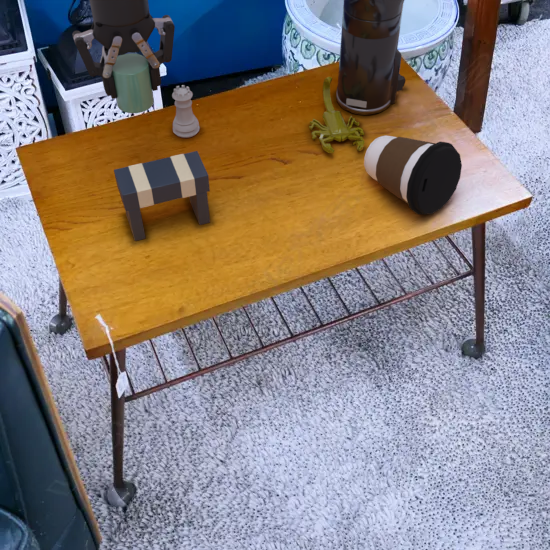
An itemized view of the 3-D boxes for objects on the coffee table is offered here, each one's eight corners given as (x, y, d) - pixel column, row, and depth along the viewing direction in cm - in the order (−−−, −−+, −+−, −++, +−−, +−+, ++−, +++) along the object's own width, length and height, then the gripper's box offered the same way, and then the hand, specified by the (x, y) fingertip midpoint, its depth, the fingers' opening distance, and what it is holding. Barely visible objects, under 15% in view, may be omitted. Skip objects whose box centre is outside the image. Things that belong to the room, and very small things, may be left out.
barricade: (202, 197, 113) (197, 150, 106) (212, 222, 110) (208, 175, 103) (123, 216, 110) (113, 169, 104) (132, 242, 107) (122, 195, 100)
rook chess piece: (168, 127, 124) (163, 86, 118) (193, 119, 126) (189, 78, 120) (179, 142, 122) (174, 101, 116) (204, 134, 123) (200, 93, 117)
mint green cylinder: (149, 88, 113) (143, 50, 108) (157, 109, 109) (152, 70, 105) (113, 95, 112) (106, 57, 107) (121, 116, 108) (114, 77, 103)
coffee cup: (347, 194, 113) (408, 223, 106) (359, 123, 108) (424, 149, 101) (393, 183, 120) (453, 210, 113) (407, 117, 115) (471, 140, 108)
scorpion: (318, 158, 118) (322, 128, 114) (298, 103, 128) (301, 73, 124) (372, 154, 120) (377, 123, 115) (348, 100, 130) (352, 70, 125)
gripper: (64, 3, 93) (89, 116, 105) (177, -16, 96) (188, 96, 108) (54, -24, 97) (80, 87, 110) (162, -42, 100) (175, 68, 113)
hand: (133, 91), depth 109 cm, fingers closed on mint green cylinder, 5 cm apart
